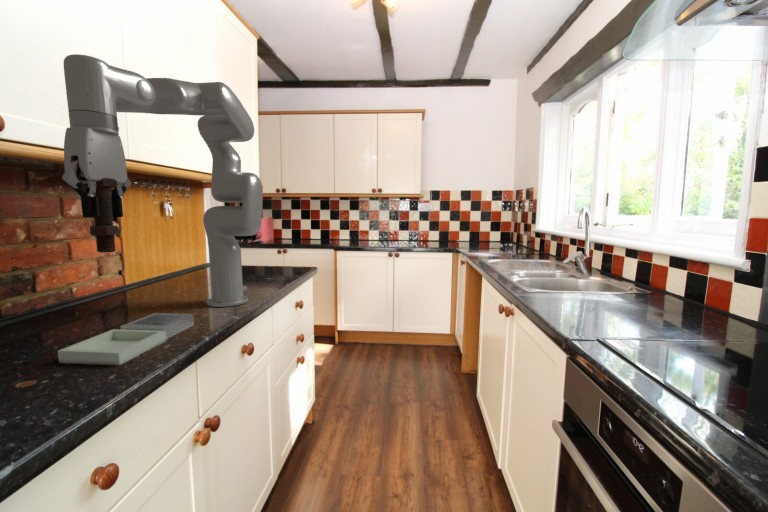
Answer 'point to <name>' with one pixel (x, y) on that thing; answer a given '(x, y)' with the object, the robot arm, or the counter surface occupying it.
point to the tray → (112, 347)
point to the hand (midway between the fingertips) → (103, 216)
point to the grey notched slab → (162, 323)
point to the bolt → (104, 217)
